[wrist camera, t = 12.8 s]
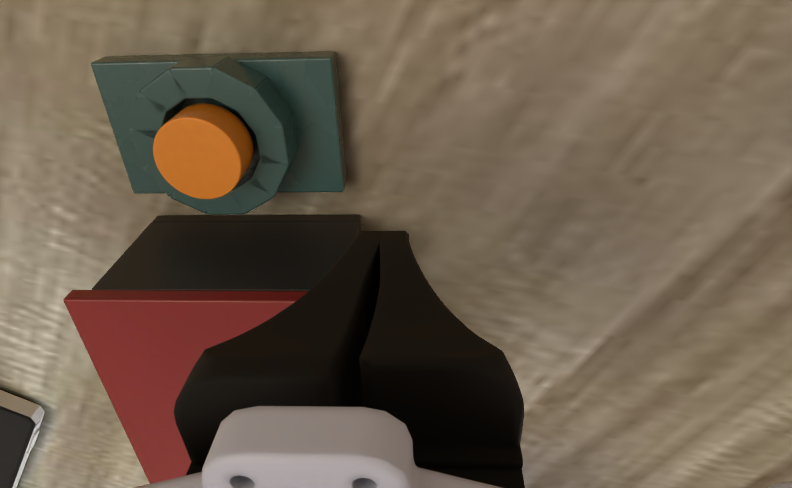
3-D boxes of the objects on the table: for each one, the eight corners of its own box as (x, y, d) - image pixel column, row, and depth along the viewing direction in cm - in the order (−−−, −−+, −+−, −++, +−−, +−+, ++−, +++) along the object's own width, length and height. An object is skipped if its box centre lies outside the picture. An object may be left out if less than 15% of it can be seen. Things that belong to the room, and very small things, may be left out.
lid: (156, 473, 28) (150, 486, 27) (72, 288, 21) (61, 299, 21) (364, 480, 27) (362, 492, 27) (343, 290, 21) (341, 302, 20)
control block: (347, 184, 25) (338, 214, 22) (145, 186, 26) (115, 215, 23) (335, 47, 22) (323, 64, 19) (103, 52, 22) (61, 70, 20)
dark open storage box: (211, 386, 33) (170, 474, 28) (157, 215, 26) (90, 289, 21) (373, 388, 32) (364, 479, 27) (360, 214, 26) (343, 289, 21)
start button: (260, 180, 22) (248, 199, 21) (182, 181, 22) (165, 200, 21) (245, 101, 20) (231, 116, 19) (161, 103, 21) (141, 117, 19)
